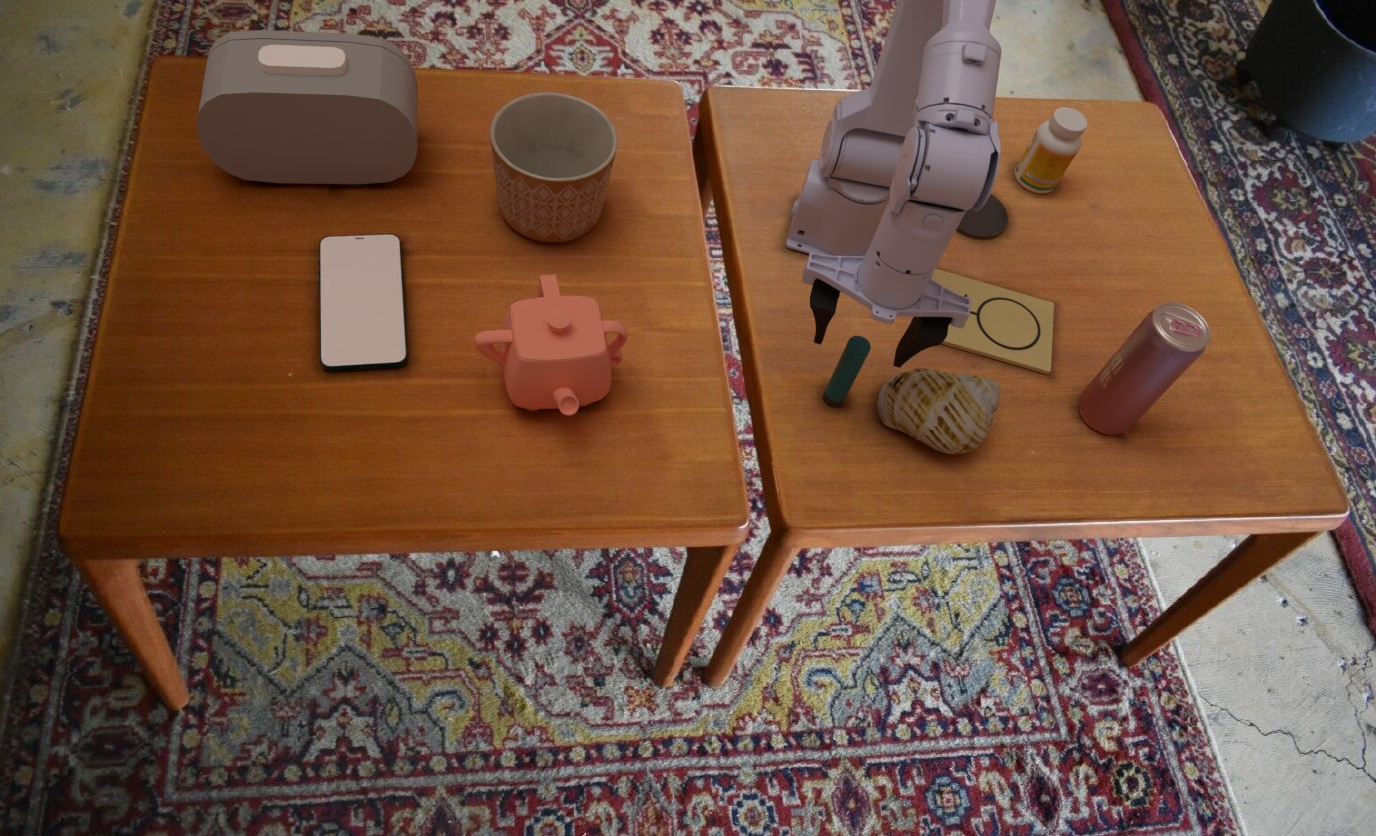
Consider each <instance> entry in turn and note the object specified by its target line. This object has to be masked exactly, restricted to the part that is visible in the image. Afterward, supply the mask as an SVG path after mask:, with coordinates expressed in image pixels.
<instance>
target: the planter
mask: <svg viewBox="0 0 1376 836" xmlns="http://www.w3.org/2000/svg"><path fill="white" fill-rule="evenodd" d="M489 139H490V140H489V141H490V148H491V156H492V163H493V173H494V180H495V187H496V195H497V202H498V204H497V205H498V209H499V211H500V214H501V216H502V218H503V219H504V221H505V222H506V223H507V224H508V225H509V227H511V229H513V230H514V231H515V232H517V233H518V234H520V235H522V236H523V237H525V238H528V239H530V240H534V241H537V242H541V243H548V244H549V243H552V244H555V243H566V242H570V241H573V240H576V239H579V238H580V237H582V236H584V235H585V234H587V233H589V232H590V231H591V230H592V229H593V228H594V227H595V225H596V224H597V223H598V221H599V219H600V218H601V214H602V211H603V208H604V207H603V206H604V202H605V199H606V194H607V191H608V186H609V182H610V179H611V174H612V171H613V167H614V163H615V158H616V154H617V150H618V145H619V137H618V133H617V129H616V127H615V125H614V123H613V122H612V120H611V119H610V118H609V116H608V115H607V114H606V113H605V112H604V111H603V110H601V108H599V107H597V105H595V104H593V103H591V102H590V101H588V100H586V99H583V98H580V97H578V96H575V95H571V94H568V93H562V92H551V91H542V92H534V93H528V94H524V95H521V96H519V97H516V98H514V99H511V100H510V101H508V102H507V103H506V104H504V105H503V106H501V108H499V109H498V111H497V112H496V113H495V114H494V115H493V118H492V120H491V122H490V127H489Z"/></svg>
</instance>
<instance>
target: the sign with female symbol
mask: <svg viewBox="0 0 1376 836" xmlns="http://www.w3.org/2000/svg"><path fill="white" fill-rule="evenodd" d="M931 279H932V280H934V281H936V282H938V283H939V284H941V285H943V286H944V287H946V288H948V289H949V290H951V291H953V292H955V293H957V294H959V295H962V296H964V297H967V298H970V299H971V308H970V315H969V317H968V319H967V320H966V322H965V324H964V325H963V327H962V328H957V327H954V326H951V325H950V324H949V326H948V334H947V337H946V339H945V340H944V341H943V343H942V344H941V345H944V346H948V347H951V348H954V349H958V350H961V351H965V352H968V353H972V354H975V355H978V356H983V357H986V358H989V359H993V360H997V361H999V362H1003V363H1006V364H1010V365H1013V366H1017V367H1020V368H1024V369H1027V370H1031V371H1034V372H1038V373H1041V374H1043V375H1044V374H1045V375H1048V376H1049V375H1050V374H1051V372H1052V359H1053V356H1052V355H1053V335H1054V317H1055V316H1054V315H1055V302H1053V301H1050V300H1046V299H1042V298H1039V297H1036V296H1032V295H1028V294H1025V293H1022V292H1018V291H1015V290H1011V289H1008V288H1004V287H1001V286H998V285H994V284H991V283H987V282H984V281H981V280H977V279H974V278H970V277H966V276H963V275H960V274H956V273H953V272H949V271H946V270H942V269H939V268H937V267H936V268H935V270H934V272H933V274H932V276H931Z"/></svg>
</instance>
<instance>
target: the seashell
mask: <svg viewBox="0 0 1376 836" xmlns="http://www.w3.org/2000/svg"><path fill="white" fill-rule="evenodd" d="M1001 389H1002V387H1001V384H1000V383H999V382H997V380H993V379H991V378H987V377H981V376H978V375H972V374H966V373H964V374H963V373H962V374H958V373H954V372H947V371H941V370H935V369H931V368H923V367H922V368H921V367H920V368H913V369H909V370H906V371H903V372H901V373H898V374H897V375H895V376H893V377H892V378H890V379H888V380H887V381H886V382H885V383H884V384H883V385H882V387H881V389H880V391H879V393H878V397H877V401H876V412H877V413H876V414H877V415H878V418H879V420H880V421H881V423H882V424H883V425H884V426H886V427H888V428H890V429H893V430H897V431H900V432H902V433H904V434H907V435H908V436H910V437H912V438H913V439H914V440H916V441H919V442H921V443H923V444H925V445H926V446H928V447H930V448H932V449H933V450H936V451H938V452H940V453H944V454H947V455H948V454H949V455H962V454H965V453H971V452H972V451H974V450H976V449H978V448H979V447H980V446H981V445H982V444H983V442H984V441H985V439H986V437H987V435H988V434H989V432H990V429H991V426H992V423H993V420H994V415H995V413H996V411H997V410H998V407H999V403H1000V397H1001Z"/></svg>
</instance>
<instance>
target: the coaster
mask: <svg viewBox="0 0 1376 836" xmlns="http://www.w3.org/2000/svg"><path fill="white" fill-rule="evenodd" d="M1008 221H1009V215H1008V212H1007V210H1006V207H1005V206H1004V204H1003V203H1002V201H1000V200H999V198H997V196H995V195H993V194H992V193H991V194H990V196H989V198H988V200H987V202H986V203H985V205H984V206H983V207H982V208H981V209H980V210H978V211H975V210H973V209H972V208H971V209H969V210H966V212H965V214H964V216H963V218H962V220H961V222H960V223H959V225H958V227H957V229H956V231H957V232H958V233H960V234H962V235H964V236H966V237H970V238H973V239H978V240H988V239H992V238H996V237H998V236H1000V235H1001V234H1002V233H1003V232H1004V231H1005V230H1006V228H1007V226H1008Z"/></svg>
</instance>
